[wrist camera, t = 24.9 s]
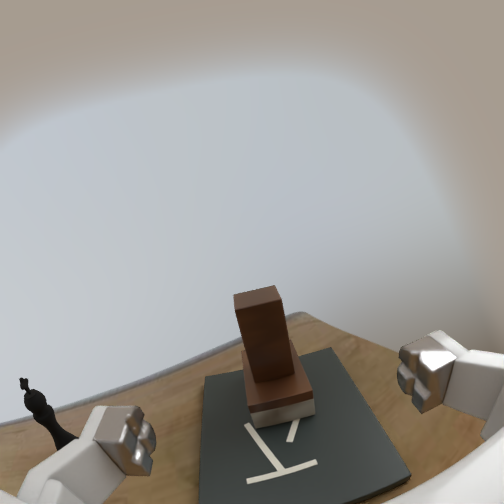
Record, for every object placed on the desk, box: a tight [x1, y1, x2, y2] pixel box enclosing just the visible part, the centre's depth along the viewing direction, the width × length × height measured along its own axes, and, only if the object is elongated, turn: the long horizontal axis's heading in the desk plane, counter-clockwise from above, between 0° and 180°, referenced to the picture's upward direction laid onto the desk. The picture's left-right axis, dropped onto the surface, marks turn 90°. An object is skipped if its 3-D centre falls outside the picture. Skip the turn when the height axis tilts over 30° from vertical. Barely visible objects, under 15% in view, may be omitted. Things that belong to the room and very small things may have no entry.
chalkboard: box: [199, 347, 411, 504], centre depth 20 cm, size 14×18×1 cm
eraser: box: [234, 285, 315, 429], centre depth 22 cm, size 5×8×10 cm, turn 4°
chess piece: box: [19, 378, 79, 451], centre depth 16 cm, size 4×4×10 cm
